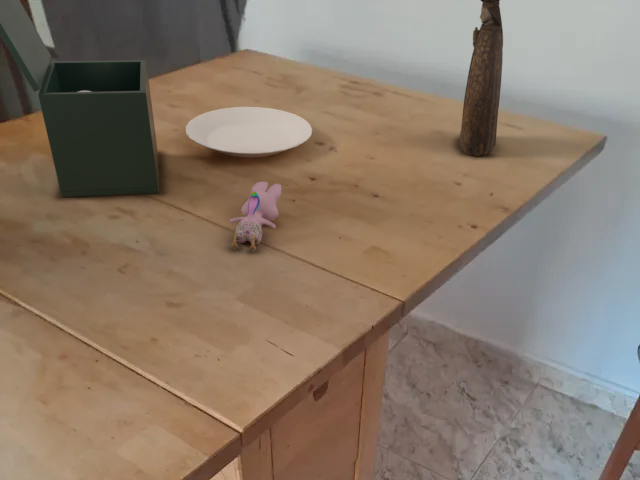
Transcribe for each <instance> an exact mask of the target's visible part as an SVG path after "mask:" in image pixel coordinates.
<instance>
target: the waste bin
mask: <svg viewBox="0 0 640 480" xmlns="http://www.w3.org/2000/svg"><path fill="white" fill-rule="evenodd" d="M148 73H149V72H148V64H147V59H134V60H133V59H131V60H130V59H128V60H125V59H124V60H123V59H122V60H121V59H119V60H58V61H55V60H53V61H52V60H50V61H49V64H48V67H47V70H46V73H45V76H44V79H43V82H42V84H41V87H40V90H38V91H39V92H38V100H39V105H40V110H41V113H42V118H43V123H44V126H45V130H46V136H47V139H48V144H49V149H50V153H51V156H52V162H53V166H54V169H55V175H56V179H57V183H58V187H59V191H60V196H61V198H74V197H75V198H76V197H97V196H98V197H99V196H100V197H101V196H119V195H120V196H121V195H124V196H125V195H143V194H145V195H146V194H147V195H148V194H159V193H160V185H159V183H160V181H159V179H160V178H159V152H158V144H157V135H156V126H155V120H154V112H153V103H152V95H151V88H150V80H149V74H148ZM80 90H90V91H94V92H77V91H80Z"/></svg>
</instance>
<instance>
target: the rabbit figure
mask: <svg viewBox="0 0 640 480" xmlns="http://www.w3.org/2000/svg"><path fill="white" fill-rule="evenodd" d="M268 186H269V182H267V181H258V182H255V184H254V185H252V187H251V189H250V195H249V197H248V199H247V200H246V202H245V203H243V205H242V206H241V208H240V209H241V213H242V215H243V216H238V217H233V218H231V219H229V223H230V224H235V223H238V224H237V225H236V228H235V231H234V236H233V238H232V239H233V240H232V243H231V247H234V248H233V250H236V247H237V248H239V246H238V244H237V242H238V243H239V244H244V243H246V242H249V243H250V244H251V245H250V246H249V248H248V249H249V250H250V249H252V252H253V253H255V250H257V245H259V244H260V243H261V241H262V240H263V226H264V225H266V226H269V227H271V229H276V228H277V226H276V224H275V223H274V222H272V221H274V220H275V219H277V217H278V216H279V211H278V210H279V209H278V207H277V202H278V200H279V199H280V197H281V195H282V187H283V186H282V185H281V184H280V183H274V184H272V185H271V186H270V187H269V189H268Z"/></svg>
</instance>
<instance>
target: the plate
mask: <svg viewBox="0 0 640 480" xmlns="http://www.w3.org/2000/svg"><path fill="white" fill-rule="evenodd" d="M185 133H186V135H187V137H188V138H189V139H190V140H191V141H192V142H194V143H196V144H197V145H199V146H202V147H205V148H207V149H210V150H213V151H216V152H218V153H221V154H222V155H227V156H231V157H236V158H237V157H238V158H251V159H253V158H265V157H270V156H274V155H279V154H281V153H283V152H286V151H287V150H290V149H294V148H297V147H299V146H301V145H302V144H304V143H306V142H307V141H308V140H309V139H311V137H312V134H313V128H312V126H311V124H310V123H309V122H308V121H307V120H306V119H304V118H303V117H301V116H299V115H298V114H295V113H291V112H289V111H286V110H280V109H277V108H272V107H271V108H270V107H261V106H235V107H232V106H231V107H225V108H224V107H223V108H218V109H214V110H211V111H210V110H209V111H205V112H204V113H202V114H199V115H197V116H195V117H194V118H192V119H191V120H189V121H188V122H187V124H186V126H185Z"/></svg>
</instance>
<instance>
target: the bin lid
mask: <svg viewBox="0 0 640 480" xmlns="http://www.w3.org/2000/svg"><path fill="white" fill-rule="evenodd" d="M0 38H1V39H2V41H3V43H4V45H5V47H6V48H7V49H8V51H9V53H10V54H11V56H12V58H13V60H14V62H15V63H16V64H17V66H18V68H19V69H20V71H21V73H22V74H23V76H24V78H25V80H26V81H27V83H28V85H29V86H30V88H31V89H32V91H33V92H37V91H40V88H41V85H42V82H43V79H44V77H45V74H46V71H47V68H48V65H49V62H50V61H51V58H52V55H51V53H50V52H49V50H48V48H47V46H46V44H45V43H44V41H43V39H42V37H41V36H40V34H39V32H38V31H37V28H36V27H35V24H33V21H32V20H31V18H30V16H29V13H27V10H25V7H24V5H23V4H22V2H21V0H0Z"/></svg>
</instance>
